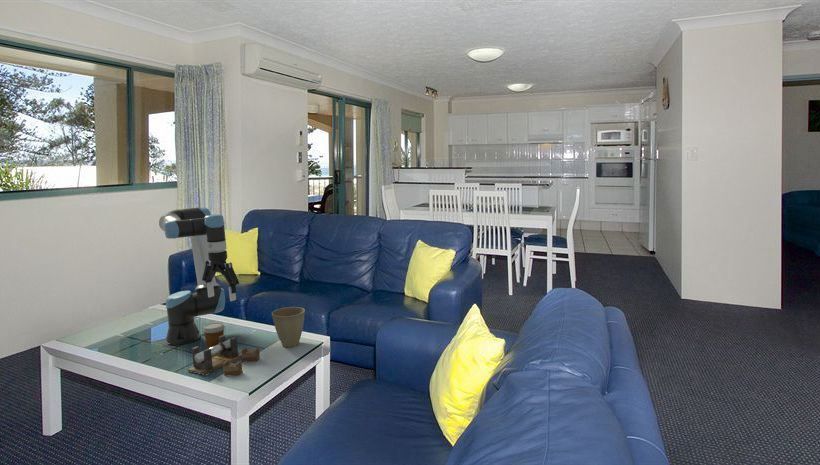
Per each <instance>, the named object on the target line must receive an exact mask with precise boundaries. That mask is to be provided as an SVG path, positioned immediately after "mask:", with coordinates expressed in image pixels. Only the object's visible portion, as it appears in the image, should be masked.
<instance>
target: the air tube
mask: <svg viewBox="0 0 820 465" xmlns="http://www.w3.org/2000/svg"><path fill="white" fill-rule="evenodd" d="M230 339H231V338H229V339H227V340H226V341H225V342H222V343H219V344H217V345H216V346H213V347H211V348H209V349H211V355H212V358H213V357H215V356H217V355H219V354H221V353H224V352H225V351H227V350H229V349H231V345H230ZM203 351H204V350H203ZM203 351H200V353H197V354H195V361H196V362H197V363H201V362H203V361H204V352H203Z"/></svg>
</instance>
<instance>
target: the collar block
mask: <svg viewBox="0 0 820 465" xmlns="http://www.w3.org/2000/svg"><path fill="white" fill-rule="evenodd" d="M218 338H219V343H222V342H225V341H227V340H226V335H225V334H224V335H222V336H220V337H218ZM229 339H230V345H231V349H229V350H227V351H225V352H224V353H221V354H218V355H216V356H214V357H212V355H211V349H208V348H207V349H204V350H203V352H204V361H203V362H201V363H197V362H196V361H195V354H197V353H200V352H201V351H200V346H194V347H192V348H191V356H192V365H193V366H192V367H189V368H187V372H188V371H192V372H196V373H200V374H204V375H206V374H208V373H210V374H212V373H213V371H214V372H216V371H218V370H221V368H222V369H223V363H224V362H225V361H227V360H229V363H234V362H236V361H238V360H240V359H242V352H239V348H238V347H239V346H238V338H237V337H236V336H234V337H232V338H229ZM215 370H216V371H215ZM211 372H212V373H211ZM204 375H203V376H204ZM208 375H209V374H208ZM206 376H207V375H206Z"/></svg>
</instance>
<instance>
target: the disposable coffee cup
mask: <svg viewBox="0 0 820 465" xmlns="http://www.w3.org/2000/svg"><path fill="white" fill-rule="evenodd" d="M202 332H203V335H204V338H205V343H206V346H207V349H209V348H211V347H213V346H216V345H217V344H219V338H218V337H220V336H222V335H225V325H224V323H223V322H220V321H218V322H217V321H216V322H211V323H207V324H205V325H203V327H202Z"/></svg>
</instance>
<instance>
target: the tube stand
mask: <svg viewBox="0 0 820 465" xmlns="http://www.w3.org/2000/svg"><path fill="white" fill-rule="evenodd" d="M241 354H242V358H241V359H242V360H239V361H237V362H235V363H234V362H232V363H229V360H227V361H225V362H224V363H223V367H222V370H223V375H224V376H228V375H231V376H230V377H232V376H233V377H240V376H242V374H243V362H248V363H249V362H250V363H257V362H259V361H260V360H261V355H260V347H257V348H254V349H248V347H247V346H245V347H244V348H242V349H241Z"/></svg>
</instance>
